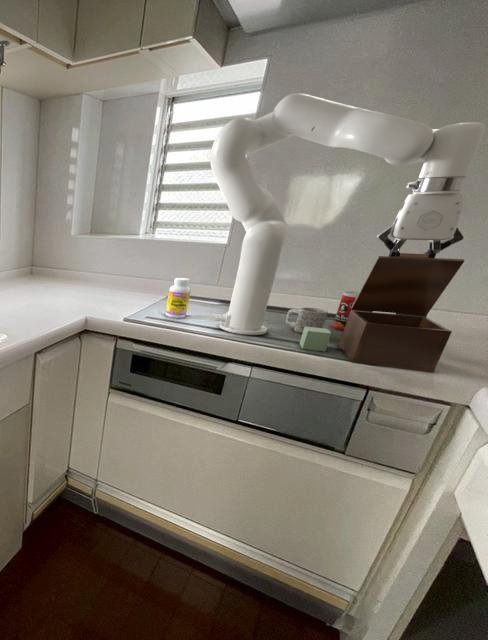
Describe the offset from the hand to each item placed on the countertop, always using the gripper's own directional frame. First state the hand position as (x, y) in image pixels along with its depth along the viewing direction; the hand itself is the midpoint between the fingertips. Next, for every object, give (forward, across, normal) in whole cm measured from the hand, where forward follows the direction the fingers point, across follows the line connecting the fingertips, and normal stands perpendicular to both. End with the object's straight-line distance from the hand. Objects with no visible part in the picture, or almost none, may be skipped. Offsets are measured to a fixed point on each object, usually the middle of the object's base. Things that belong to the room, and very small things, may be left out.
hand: (406, 268), depth 98 cm
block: (+21, -14, -5) cm, 26 cm away
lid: (+4, 0, -2) cm, 5 cm away
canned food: (+21, -1, +23) cm, 31 cm away
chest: (+21, 0, -6) cm, 22 cm away
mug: (+21, -14, +14) cm, 29 cm away
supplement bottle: (+21, -50, +15) cm, 57 cm away
